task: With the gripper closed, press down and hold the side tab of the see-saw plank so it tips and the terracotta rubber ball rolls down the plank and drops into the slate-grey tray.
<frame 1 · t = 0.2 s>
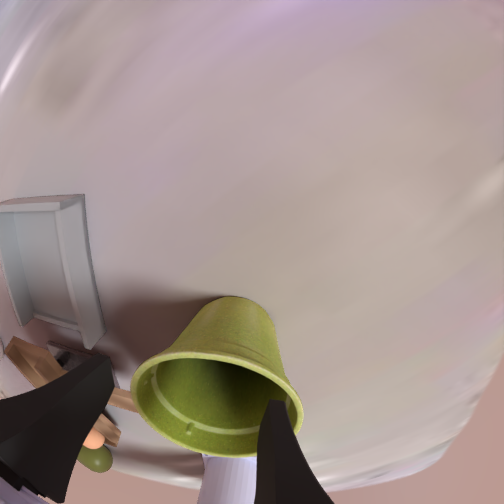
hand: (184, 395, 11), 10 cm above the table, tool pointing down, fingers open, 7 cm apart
pear: (92, 441, 33), on the table
plant pot: (235, 327, 21), on the table
plank: (96, 414, 21), point 4 cm above the table, hinge at -15.0°, touching ball
ball: (91, 435, 24), point 4 cm above the table, tilted 44°, touching plank
fulcrum: (84, 370, 25), on the table
tray: (52, 263, 21), on the table
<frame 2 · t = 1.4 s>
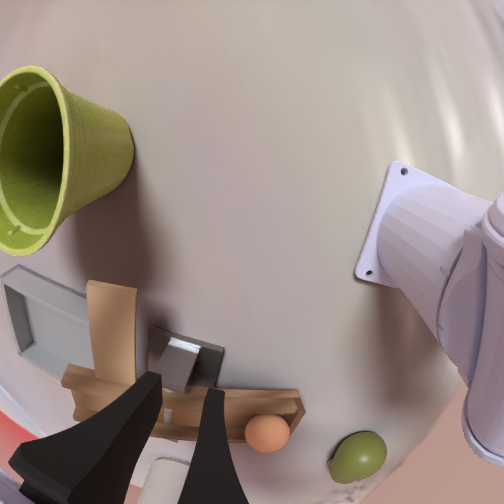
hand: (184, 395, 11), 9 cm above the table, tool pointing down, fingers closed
pear: (351, 445, 26), on the table
plant pot: (100, 151, 17), on the table
plank: (184, 387, 17), point 4 cm above the table, hinge at -15.0°, touching ball
ball: (267, 432, 19), point 4 cm above the table, tilted 44°, touching plank
fulcrum: (181, 374, 23), on the table
tray: (63, 327, 23), on the table
can: (179, 466, 30), on the table
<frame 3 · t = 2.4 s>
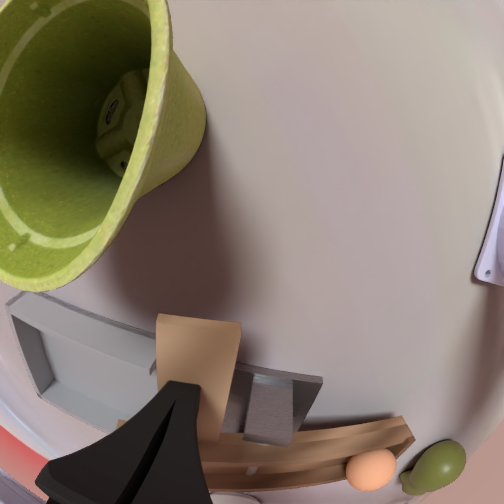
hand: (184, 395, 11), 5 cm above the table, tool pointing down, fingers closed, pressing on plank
pear: (425, 456, 20), on the table
plant pot: (148, 123, 12), on the table
plank: (289, 439, 12), point 5 cm above the table, hinge at -12.3°, touching ball, gripper
ball: (371, 468, 13), point 4 cm above the table, tilted 41°, touching plank
fulcrum: (260, 412, 18), on the table
tray: (95, 364, 18), on the table
can: (234, 497, 25), on the table
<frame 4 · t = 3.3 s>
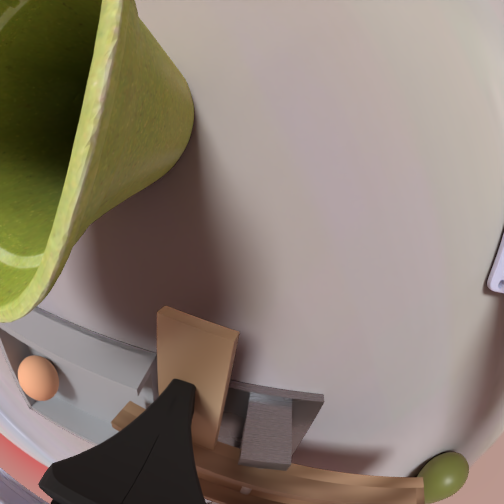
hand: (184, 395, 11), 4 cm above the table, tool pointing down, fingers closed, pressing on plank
pear: (427, 466, 19), on the table
plant pot: (131, 121, 11), on the table
plank: (281, 469, 10), point 5 cm above the table, hinge at 10.5°, touching gripper
ball: (38, 378, 15), point 2 cm above the table, tilted 101°, touching tray
fulcrum: (257, 429, 16), on the table
tray: (84, 377, 17), on the table
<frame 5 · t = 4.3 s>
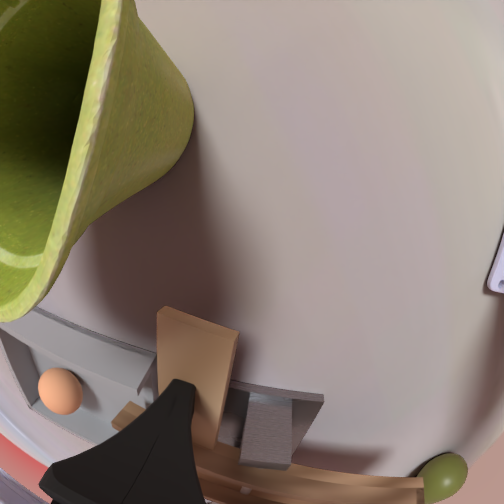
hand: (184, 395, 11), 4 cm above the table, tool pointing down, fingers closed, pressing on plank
pear: (426, 467, 19), on the table
plant pot: (131, 121, 11), on the table
plank: (281, 469, 10), point 5 cm above the table, hinge at 10.5°, touching gripper
ball: (60, 391, 15), point 2 cm above the table, tilted 24°, touching tray
fulcrum: (257, 429, 16), on the table
tray: (84, 377, 17), on the table
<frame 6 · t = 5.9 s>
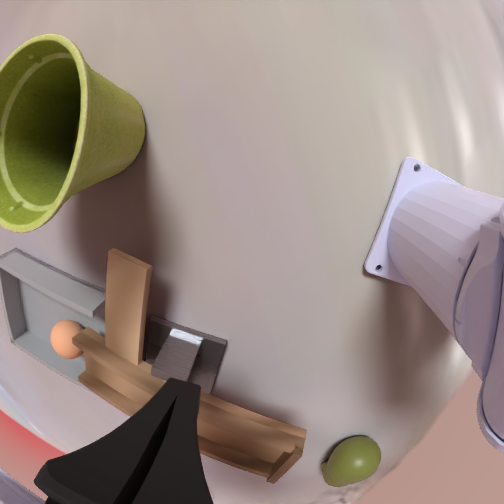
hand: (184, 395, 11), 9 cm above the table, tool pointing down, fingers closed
pear: (345, 449, 26), on the table
plant pot: (109, 132, 17), on the table
plank: (179, 383, 16), point 5 cm above the table, hinge at 10.5°
ball: (68, 339, 20), point 2 cm above the table, tilted 98°, touching tray
fulcrum: (180, 367, 22), on the table
tray: (59, 314, 22), on the table
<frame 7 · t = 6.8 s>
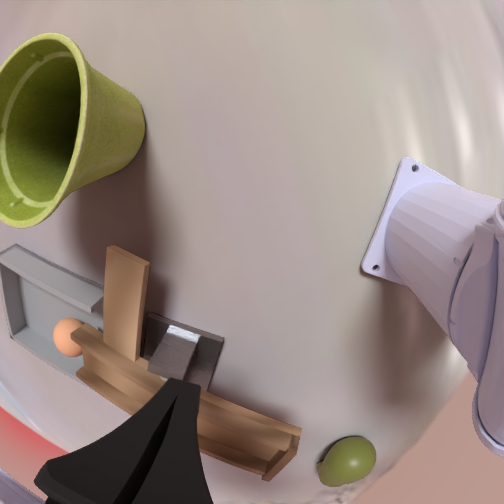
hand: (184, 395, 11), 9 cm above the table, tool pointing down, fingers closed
pear: (341, 449, 26), on the table
plant pot: (109, 130, 17), on the table
plank: (176, 379, 16), point 5 cm above the table, hinge at 10.5°
ball: (71, 337, 20), point 2 cm above the table, tilted 114°, touching tray
fulcrum: (178, 364, 22), on the table
tray: (58, 310, 22), on the table
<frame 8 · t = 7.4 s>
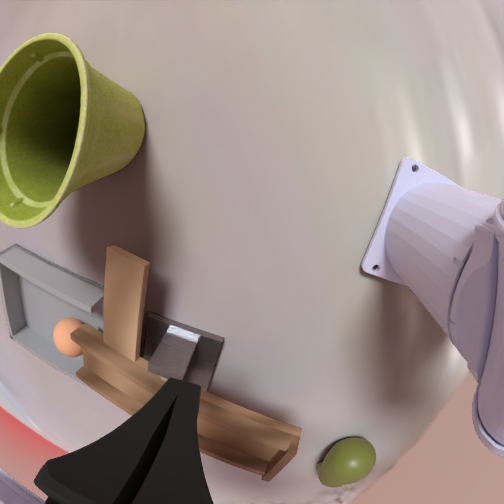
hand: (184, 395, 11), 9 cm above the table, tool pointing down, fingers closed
pear: (340, 450, 26), on the table
plant pot: (109, 130, 17), on the table
plank: (176, 379, 16), point 5 cm above the table, hinge at 10.5°
ball: (71, 337, 20), point 2 cm above the table, tilted 114°, touching tray
fulcrum: (178, 364, 22), on the table
tray: (58, 310, 22), on the table
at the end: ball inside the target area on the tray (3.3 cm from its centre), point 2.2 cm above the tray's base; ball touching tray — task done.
